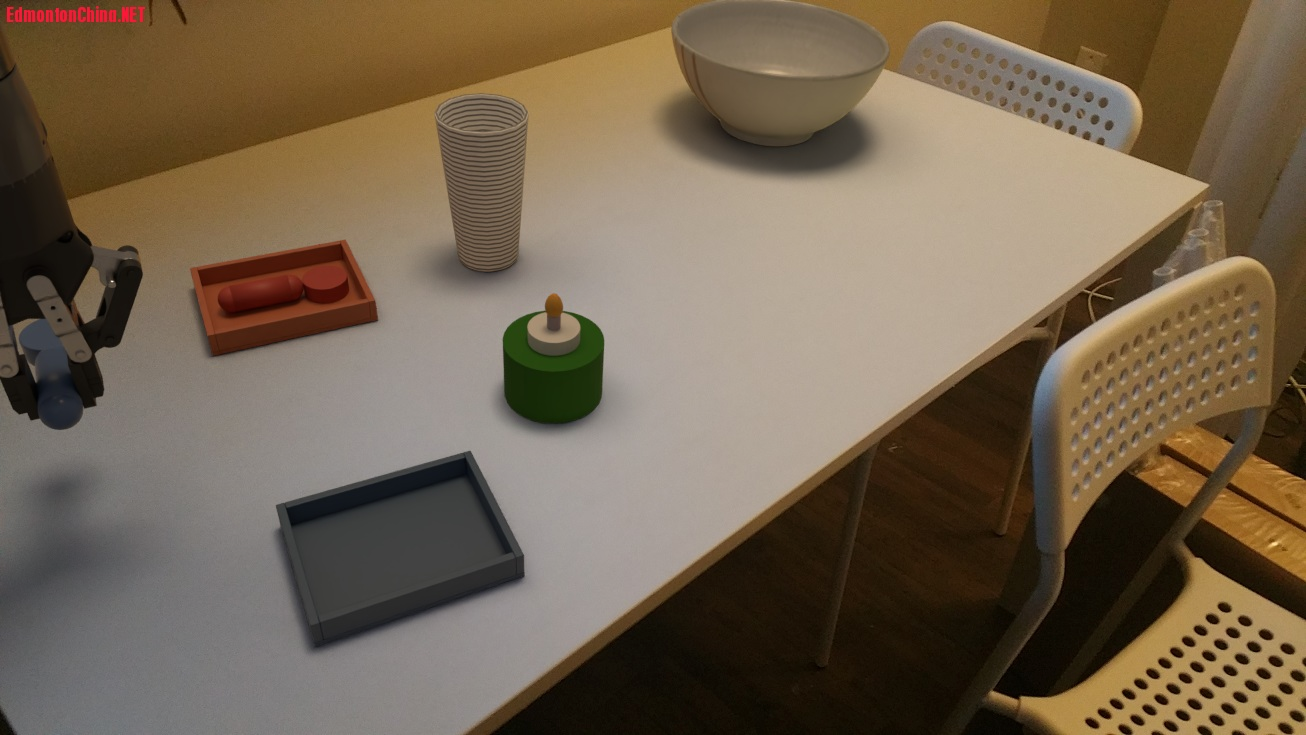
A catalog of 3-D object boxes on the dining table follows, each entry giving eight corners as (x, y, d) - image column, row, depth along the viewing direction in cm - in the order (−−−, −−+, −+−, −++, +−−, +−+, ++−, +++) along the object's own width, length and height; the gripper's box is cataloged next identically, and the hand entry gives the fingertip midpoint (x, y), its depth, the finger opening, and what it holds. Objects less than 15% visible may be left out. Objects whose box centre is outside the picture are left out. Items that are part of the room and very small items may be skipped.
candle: (541, 349, 88) (541, 254, 82) (620, 383, 85) (626, 287, 79) (484, 398, 82) (479, 300, 76) (566, 437, 79) (567, 338, 73)
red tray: (212, 356, 84) (207, 335, 83) (195, 287, 92) (189, 267, 91) (378, 320, 90) (375, 300, 89) (348, 258, 98) (345, 239, 96)
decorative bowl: (624, 131, 124) (629, 36, 116) (725, 68, 142) (735, -17, 135) (818, 196, 114) (837, 97, 106) (900, 120, 132) (921, 31, 125)
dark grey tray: (315, 647, 63) (309, 625, 61) (280, 525, 70) (275, 504, 69) (524, 575, 68) (524, 554, 67) (471, 470, 76) (470, 449, 74)
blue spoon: (103, 428, 61) (93, 399, 60) (30, 445, 60) (17, 416, 58) (90, 327, 69) (80, 299, 68) (24, 340, 67) (13, 312, 66)
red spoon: (224, 325, 87) (218, 302, 86) (217, 300, 90) (211, 279, 88) (353, 298, 92) (350, 276, 90) (343, 276, 94) (340, 254, 93)
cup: (545, 267, 99) (544, 122, 89) (465, 288, 95) (455, 139, 85) (509, 227, 104) (505, 87, 94) (432, 245, 100) (420, 101, 91)
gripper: (-206, 211, 46) (-68, 474, 57) (120, 166, 52) (190, 414, 63) (-188, 143, 51) (-64, 397, 62) (108, 109, 57) (175, 347, 68)
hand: (64, 404), depth 62 cm, fingers closed on blue spoon, 2 cm apart
